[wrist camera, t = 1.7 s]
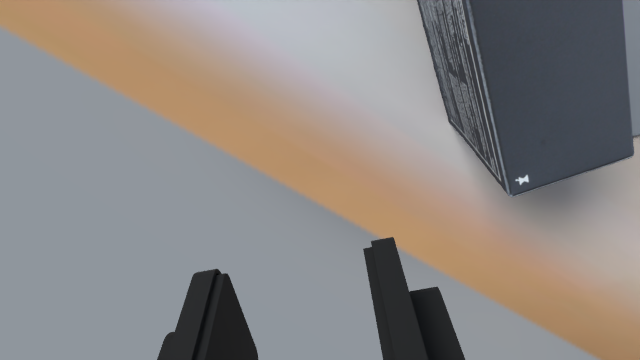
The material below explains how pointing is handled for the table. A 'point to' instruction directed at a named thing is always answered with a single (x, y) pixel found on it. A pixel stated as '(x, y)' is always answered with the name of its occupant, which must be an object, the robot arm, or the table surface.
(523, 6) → the small box
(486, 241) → the table surface
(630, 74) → the mat
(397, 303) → the robot arm
